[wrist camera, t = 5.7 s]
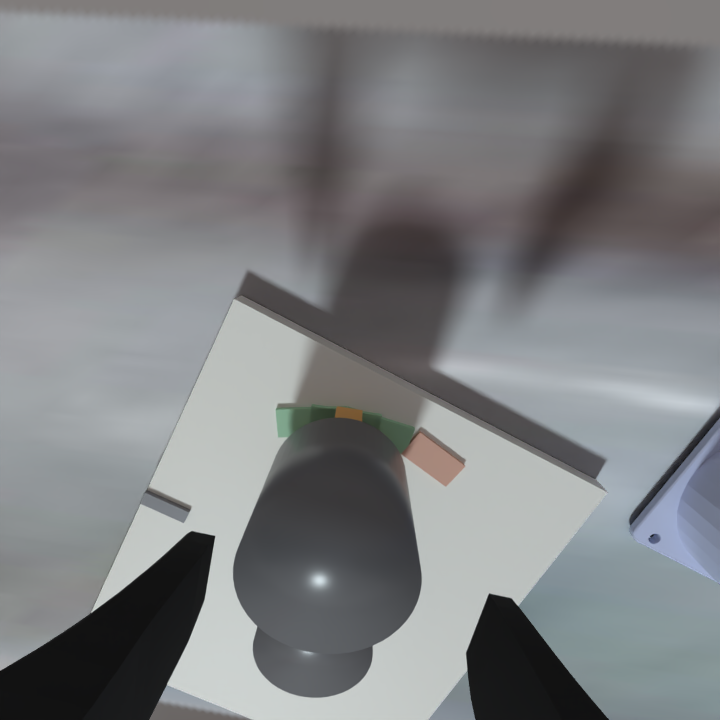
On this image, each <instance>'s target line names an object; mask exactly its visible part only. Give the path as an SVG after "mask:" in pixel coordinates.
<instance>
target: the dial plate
mask: <svg viewBox="0 0 720 720" xmlns="http://www.w3.org/2000/svg"><path fill="white" fill-rule="evenodd" d="M337 406H339V407H345V408H352V409H359V410H363V412H362V422H364V423H367V424H369V425H371V426H373V427H375V428H376V429H378V430H379V431H381V432H382V433H384V434H385V435H386V436H387V437H388V438H389V439H390V440H391V441H392V442H393V443H394V445H395V446H396V448H397V449H398V451H399V452H400V455H401V457H402V459H403V462H404V465H405V470H406V476H407V483H408V489H409V496H410V502H411V508H412V515H413V521H414V528H415V534H416V540H417V547H418V553H419V560H420V566H421V573H422V584H421V591H420V595H419V599H418V602H417V604H416V606H415V608H414V610H413V612H412V614H411V615H410V617H409V618H408V619H407V621H406V622H405V623H404V624H403V625H402V626H401V627H400V628H399V629H398V630H397V631H396V632H395V633H393V634H392V635H391V636H389V637H388V638H386V639H385V640H383V641H382V642H379V643H377V644H375V645H373V657H372V662H371V666H370V668H369V670H368V672H367V674H366V675H365V677H364V678H363V679H362V680H361V681H360V682H359V683H358V684H357V685H355V686H354V687H352V688H351V689H349V690H347V691H345V692H343V693H340V694H337V695H334V696H330V697H322V698H310V697H302V696H297V695H294V694H290V693H288V692H285V691H283V690H281V689H279V688H277V687H276V686H275V685H273V684H272V683H270V682H269V681H268V680H267V679H266V678H265V677H264V676H263V675H262V673H261V672H260V670H259V669H258V667H257V665H256V663H255V660H254V656H253V641H254V637H255V633H256V630H257V625H256V624H255V623H254V622H253V621H252V620H251V619H250V618H249V617H248V615H247V614H246V612H245V611H244V609H243V608H242V606H241V604H240V602H239V600H238V598H237V594H236V591H235V588H234V581H233V565H234V559H235V555H236V552H237V549H238V546H239V544H240V542H241V539H242V537H243V534H244V532H245V529H246V527H247V525H248V522H249V520H250V517H251V515H252V512H253V510H254V508H255V505H256V503H257V500H258V498H259V495H260V493H261V491H262V488H263V486H264V483H265V481H266V478H267V476H268V473H269V471H270V469H271V466H272V464H273V461H274V459H275V456H276V454H277V452H278V450H279V448H280V447H281V445H282V444H283V443H284V441H285V440H286V439H287V438H288V437H289V436H290V435H291V434H292V433H294V432H295V431H296V430H297V429H299V428H301V427H303V426H304V425H306V424H309V423H311V422H314V421H317V420H321V419H326V418H335V413H336V408H337ZM607 493H608V492H607V491H606V490H605V489H604V488H603V487H602V485H601V484H600V483H599V482H598V481H597V480H596V479H594V478H592V477H590V476H588V475H586V474H584V473H582V472H580V471H579V470H577V469H575V468H573V467H571V466H569V465H567V464H565V463H563V462H561V461H559V460H557V459H555V458H554V457H552V456H550V455H548V454H546V453H544V452H542V451H540V450H538V449H536V448H534V447H532V446H530V445H529V444H527V443H525V442H523V441H521V440H519V439H517V438H515V437H513V436H511V435H509V434H507V433H505V432H503V431H502V430H500V429H498V428H496V427H494V426H492V425H490V424H488V423H486V422H484V421H482V420H480V419H478V418H477V417H475V416H473V415H471V414H469V413H467V412H465V411H463V410H461V409H459V408H457V407H455V406H453V405H452V404H450V403H448V402H446V401H444V400H442V399H440V398H438V397H436V396H434V395H432V394H430V393H428V392H427V391H425V390H423V389H421V388H419V387H417V386H415V385H413V384H411V383H409V382H407V381H405V380H403V379H402V378H400V377H398V376H396V375H394V374H392V373H390V372H388V371H386V370H384V369H382V368H380V367H378V366H377V365H375V364H373V363H371V362H369V361H367V360H365V359H363V358H361V357H359V356H357V355H355V354H353V353H352V352H350V351H348V350H346V349H344V348H342V347H340V346H338V345H336V344H334V343H332V342H330V341H328V340H327V339H325V338H323V337H321V336H319V335H317V334H315V333H313V332H311V331H309V330H307V329H305V328H303V327H302V326H300V325H298V324H296V323H294V322H292V321H290V320H288V319H286V318H284V317H282V316H280V315H278V314H277V313H275V312H273V311H271V310H269V309H267V308H265V307H263V306H261V305H259V304H257V303H255V302H253V301H252V300H250V299H248V298H246V297H244V296H242V295H241V296H239V297H237V298H235V299H234V301H233V303H232V305H231V307H230V309H229V312H228V314H227V316H226V318H225V320H224V322H223V325H222V327H221V329H220V331H219V333H218V336H217V338H216V340H215V342H214V344H213V347H212V349H211V351H210V353H209V355H208V358H207V360H206V362H205V364H204V366H203V369H202V371H201V373H200V375H199V377H198V380H197V382H196V384H195V386H194V388H193V390H192V393H191V395H190V397H189V399H188V401H187V404H186V406H185V408H184V410H183V412H182V415H181V417H180V419H179V421H178V423H177V426H176V428H175V430H174V432H173V434H172V437H171V439H170V441H169V443H168V445H167V447H166V450H165V452H164V454H163V456H162V458H161V461H160V463H159V465H158V467H157V469H156V472H155V474H154V476H153V478H152V480H151V483H150V485H149V487H148V489H147V491H146V492H145V493H144V496H143V498H142V500H141V502H140V507H139V509H138V511H137V513H136V515H135V518H134V520H133V522H132V524H131V526H130V529H129V531H128V533H127V535H126V537H125V540H124V542H123V544H122V546H121V548H120V551H119V553H118V555H117V557H116V559H115V561H114V564H113V566H112V568H111V570H110V572H109V575H108V577H107V579H106V581H105V583H104V586H103V588H102V590H101V592H100V594H99V597H98V599H97V601H96V603H95V605H94V608H93V610H92V612H93V611H94V610H96V609H97V608H99V607H100V606H101V605H103V604H104V603H105V602H107V601H108V600H109V599H111V598H112V597H113V596H115V595H116V594H117V593H119V592H120V591H121V590H122V589H124V588H125V587H126V586H127V585H129V584H130V583H131V582H132V581H134V580H135V579H136V578H137V577H138V576H140V575H141V574H142V573H143V572H145V571H146V570H147V569H148V568H149V567H151V566H152V565H153V564H154V563H155V562H156V561H157V560H159V559H160V558H161V557H162V556H163V555H164V554H165V553H167V552H168V551H169V550H170V549H171V548H172V547H173V546H174V545H175V544H176V543H177V542H179V541H180V540H181V539H182V538H183V537H184V536H185V535H186V534H187V533H189V532H191V531H194V532H199V533H204V534H209V535H213V536H215V541H214V547H213V553H212V559H211V565H210V571H209V577H208V583H207V589H206V595H205V600H204V603H203V606H202V608H201V611H200V613H199V616H198V619H197V621H196V624H195V626H194V629H193V631H192V634H191V636H190V639H189V641H188V644H187V646H186V648H185V650H184V652H183V654H182V656H181V658H180V660H179V662H178V664H177V666H176V668H175V670H174V672H173V674H172V676H171V677H170V679H169V681H168V683H167V685H168V686H171V687H173V688H175V689H178V690H180V691H183V692H185V693H188V694H190V695H193V696H195V697H198V698H200V699H203V700H205V701H208V702H210V703H213V704H215V705H218V706H220V707H223V708H225V709H228V710H230V711H233V712H235V713H238V714H240V715H243V716H245V717H248V718H250V719H253V720H428V719H429V718H430V717H431V715H432V714H433V713H434V712H435V710H436V709H437V708H438V707H439V705H440V704H441V703H442V701H443V700H444V699H445V698H446V696H447V695H448V694H449V693H450V691H451V690H452V689H453V688H454V686H455V685H456V684H457V683H458V681H459V680H460V679H461V677H462V676H463V675H464V674H465V672H466V671H467V670H468V669H467V660H466V652H467V649H468V646H469V644H470V641H471V639H472V636H473V633H474V631H475V628H476V626H477V623H478V620H479V618H480V615H481V613H482V610H483V607H484V605H485V602H486V600H487V597H488V595H489V593H490V594H494V595H499V596H504V597H509V598H512V599H513V601H514V602H515V603H516V604H517V605H518V606H519V604H520V603H521V602H522V601H523V599H524V598H525V597H526V595H527V594H528V593H529V592H530V590H531V589H532V588H533V587H534V585H535V584H536V583H537V582H538V580H539V579H540V578H541V577H542V575H543V574H544V573H545V571H546V570H547V569H548V568H549V566H550V565H551V564H552V563H553V561H554V560H555V559H556V558H557V556H558V555H559V554H560V553H561V551H562V550H563V549H564V547H565V546H566V545H567V544H568V542H569V541H570V540H571V539H572V537H573V536H574V535H575V534H576V532H577V531H578V530H579V529H580V527H581V526H582V525H583V524H584V522H585V521H586V520H587V518H588V517H589V516H590V515H591V513H592V512H593V511H594V510H595V508H596V507H597V506H598V505H599V503H600V502H601V501H602V500H603V498H604V497H605V496H606V494H607ZM92 612H91V613H92Z"/></svg>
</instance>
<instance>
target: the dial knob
mask: <svg viewBox="0 0 720 720" xmlns="http://www.w3.org/2000/svg"><path fill="white" fill-rule="evenodd" d="M362 412H363V410H359V409H352V408H345V407H339V406H337V408H336V413H335V418H326V419H321V420H317V421H314V422H311V423H309V424H306V425H304V426H303V427H301V428H299V429H297V430H296V431H295V432H294V433H292V434H291V435H290V436H289V437H288V438H287V439H286V440H285V441H284V443H283V444H282V445H281V447H280V448H279V450H278V452H277V454H276V456H275V459H274V461H273V464H272V466H271V469H270V471H269V473H268V476H267V478H266V481H265V483H264V486H263V488H262V491H261V493H260V495H259V498H258V500H257V503H256V505H255V508H254V510H253V512H252V515H251V517H250V520H249V522H248V525H247V527H246V529H245V532H244V534H243V537H242V539H241V542H240V544H239V546H238V549H237V552H236V555H235V559H234V565H233V581H234V588H235V591H236V594H237V598H238V600H239V602H240V604H241V606H242V608H243V609H244V611H245V612H246V614H247V615H248V617H249V618H250V619H251V620H252V621H253V622H254V623H255V624H256V625H257V630H256V633H255V637H254V641H253V656H254V660H255V663H256V665H257V667H258V669H259V670H260V672H261V673H262V675H263V676H264V677H265V678H266V679H267V680H268V681H269V682H270V683H272V684H273V685H275V686H276V687H277V688H279V689H281V690H283V691H285V692H288V693H290V694H294V695H297V696H302V697H310V698H322V697H330V696H334V695H337V694H340V693H343V692H345V691H347V690H349V689H351V688H352V687H354V686H355V685H357V684H358V683H359V682H360V681H361V680H362V679H363V678H364V677H365V675H366V674H367V672H368V670H369V668H370V666H371V662H372V657H373V645H375V644H377V643H379V642H382V641H383V640H385V639H386V638H388V637H389V636H391V635H392V634H393V633H395V632H396V631H397V630H398V629H399V628H400V627H401V626H402V625H403V624H404V623H405V622H406V621H407V619H408V618H409V617H410V615H411V614H412V612H413V610H414V608H415V606H416V604H417V602H418V599H419V595H420V591H421V584H422V573H421V566H420V560H419V553H418V547H417V540H416V534H415V528H414V521H413V515H412V508H411V502H410V496H409V489H408V483H407V476H406V470H405V465H404V462H403V459H402V457H401V455H400V452H399V451H398V449H397V448H396V446H395V445H394V443H393V442H392V441H391V440H390V439H389V438H388V437H387V436H386V435H385V434H384V433H382V432H381V431H379V430H378V429H376V428H375V427H373V426H371V425H369V424H367V423H364V422H362Z"/></svg>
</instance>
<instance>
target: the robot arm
mask: <svg viewBox="0 0 720 720" xmlns="http://www.w3.org/2000/svg"><path fill="white" fill-rule="evenodd" d="M629 532H630V534H631V536H632V537H633V538H634V539H635V540H636V541H637V542H639V543H641V544H643V545H645V546H647V547H649V548H651V549H653V550H655V551H657V552H659V553H661V554H663V555H665V556H667V557H669V558H671V559H672V560H674V561H676V562H678V563H680V564H682V565H684V566H686V567H688V568H690V569H692V570H694V571H696V572H698V573H700V574H702V575H704V576H706V577H708V578H710V579H712V580H714V581H716V582H717V583H718V584H719V585H720V418H719V420H718V421H717V422H716V423H715V424H714V426H713V427H712V428H711V429H710V430H709V432H708V433H707V434H706V435H705V436H704V438H703V439H702V440H701V441H700V442H699V444H698V445H697V446H696V447H695V448H694V450H693V451H692V452H691V453H690V455H689V456H688V457H687V458H686V459H685V461H684V462H683V463H682V464H681V465H680V467H679V468H678V469H677V470H676V471H675V473H674V474H673V475H672V476H671V477H670V479H669V480H668V481H667V482H666V483H665V485H664V486H663V487H662V488H661V490H660V491H659V492H658V493H657V494H656V496H655V497H654V498H653V499H652V500H651V502H650V503H649V504H648V505H647V506H646V508H645V509H644V510H643V511H642V512H641V514H640V515H639V516H638V517H637V518H636V520H635V521H634V522H633V523H632V525H631V526H630V530H629ZM652 534H654V536H653V537H651V538H649V537H650V536H651V535H652ZM214 541H215V536H213V535H209V534H204V533H199V532H194V531H191V532H189V533H187V534H186V535H185V536H184V537H183V538H182V539H181V540H180V541H179V542H177V543H176V544H175V545H174V546H173V547H172V548H171V549H170V550H169V551H168V552H167V553H165V554H164V555H163V556H162V557H161V558H160V559H159V560H157V561H156V562H155V563H154V564H153V565H152V566H151V567H149V568H148V569H147V570H146V571H145V572H143V573H142V574H141V575H140V576H138V577H137V578H136V579H135V580H134V581H132V582H131V583H130V584H129V585H127V586H126V587H125V588H124V589H122V590H121V591H120V592H119V593H117V594H116V595H115V596H113V597H112V598H111V599H109V600H108V601H107V602H105V603H104V604H103V605H101V606H100V607H99V608H97V609H96V610H94V611H93V612H92V613H90V614H89V615H88V616H86V617H85V618H83V619H82V620H81V621H79V622H78V623H76V624H75V625H73V626H72V627H70V628H69V629H67V630H66V631H64V632H63V633H61V634H60V635H58V636H57V637H55V638H54V639H52V640H51V641H49V642H47V643H46V644H44V645H43V646H41V647H40V648H38V649H36V650H35V651H33V652H31V653H30V654H28V655H26V656H25V657H23V658H21V659H19V660H18V661H16V662H14V663H13V664H11V665H9V666H8V667H6V668H4V669H3V670H1V671H0V720H149V719H150V717H151V715H152V713H153V711H154V709H155V707H156V705H157V703H158V701H159V699H160V697H161V695H162V693H163V691H164V689H165V687H166V685H167V683H168V681H169V679H170V677H171V676H172V674H173V672H174V670H175V668H176V666H177V664H178V662H179V660H180V658H181V656H182V654H183V652H184V650H185V648H186V646H187V644H188V641H189V639H190V636H191V634H192V631H193V629H194V626H195V624H196V621H197V619H198V616H199V613H200V611H201V608H202V606H203V603H204V600H205V595H206V589H207V583H208V577H209V571H210V565H211V559H212V553H213V547H214ZM466 660H467V669H468V679H469V687H470V695H471V701H472V706H473V710H474V715H475V719H476V720H609V719H608V718H607V717H606V716H605V715H604V713H603V712H602V711H601V710H600V709H599V708H598V706H597V705H596V704H595V703H594V702H593V701H592V699H591V698H590V697H589V696H588V695H587V693H586V692H585V691H584V690H583V689H582V687H581V686H580V685H579V684H578V683H577V681H576V680H575V679H574V678H573V676H572V675H571V674H570V673H569V671H568V670H567V669H566V668H565V666H564V665H563V664H562V663H561V661H560V660H559V659H558V657H557V656H556V655H555V654H554V652H553V651H552V650H551V648H550V647H549V646H548V644H547V643H546V642H545V641H544V639H543V638H542V637H541V635H540V634H539V633H538V631H537V630H536V629H535V627H534V626H533V625H532V624H531V622H530V621H529V620H528V618H527V617H526V616H525V614H524V613H523V612H522V611H521V609H520V608H519V607H518V605H517V604H516V603H515V602H514V601H513V599H512V598H509V597H504V596H499V595H494V594H490V593H489V595H488V597H487V600H486V602H485V605H484V607H483V610H482V613H481V615H480V618H479V620H478V623H477V626H476V628H475V631H474V633H473V636H472V639H471V641H470V644H469V646H468V649H467V652H466Z"/></svg>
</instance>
